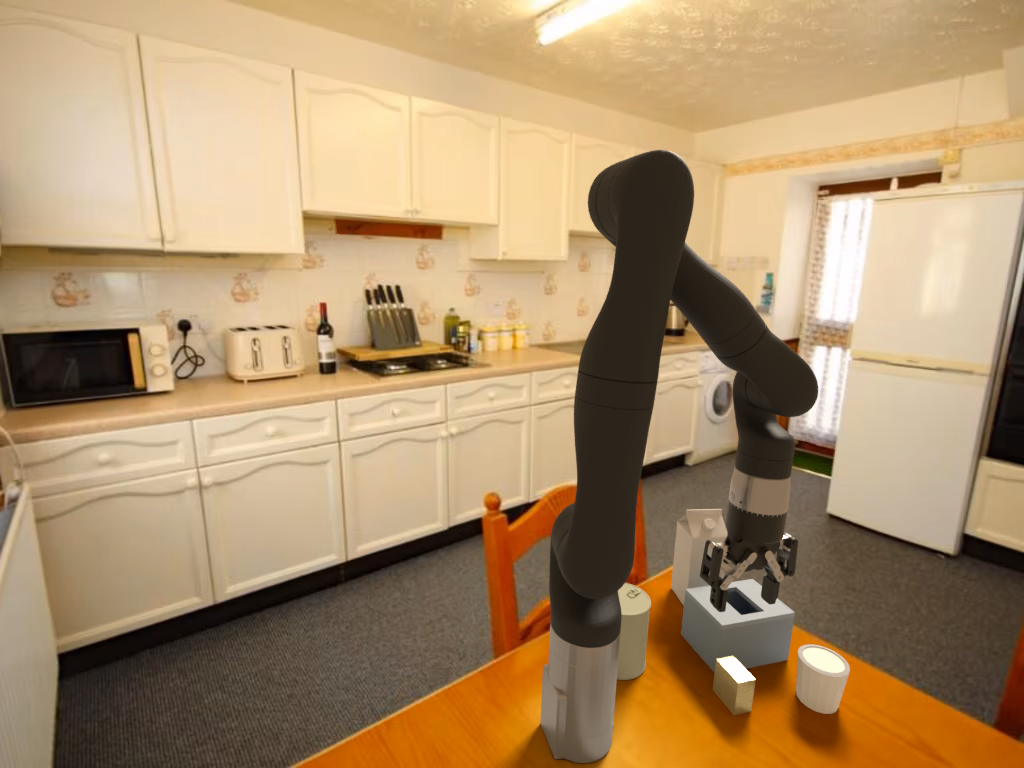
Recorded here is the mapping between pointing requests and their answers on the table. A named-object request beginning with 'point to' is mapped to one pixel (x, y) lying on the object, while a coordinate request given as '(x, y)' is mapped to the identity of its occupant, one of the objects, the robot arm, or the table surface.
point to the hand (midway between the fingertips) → (743, 604)
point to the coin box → (737, 626)
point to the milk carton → (694, 547)
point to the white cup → (820, 678)
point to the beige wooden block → (734, 685)
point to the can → (633, 631)
